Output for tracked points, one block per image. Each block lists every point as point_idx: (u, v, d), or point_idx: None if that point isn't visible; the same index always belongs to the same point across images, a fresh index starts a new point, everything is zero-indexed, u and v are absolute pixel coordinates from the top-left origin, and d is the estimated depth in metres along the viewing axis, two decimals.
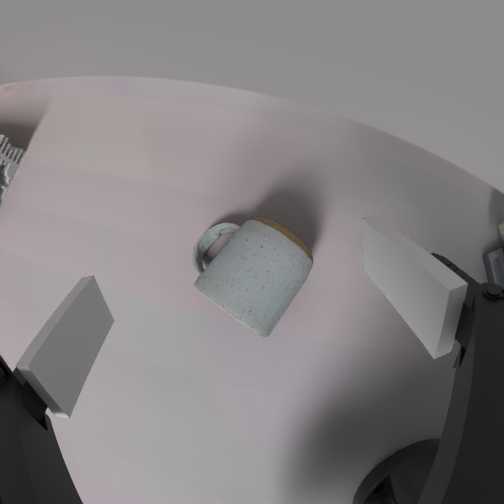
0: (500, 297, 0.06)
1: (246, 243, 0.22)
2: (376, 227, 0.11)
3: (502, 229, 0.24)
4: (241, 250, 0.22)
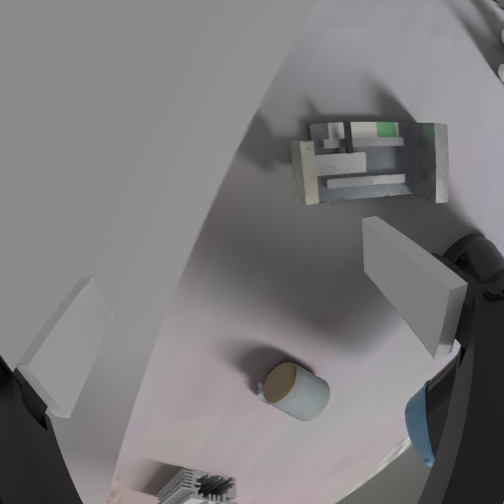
0: (500, 297, 0.06)
1: (284, 409, 0.38)
2: (376, 227, 0.11)
3: None
4: (287, 411, 0.38)
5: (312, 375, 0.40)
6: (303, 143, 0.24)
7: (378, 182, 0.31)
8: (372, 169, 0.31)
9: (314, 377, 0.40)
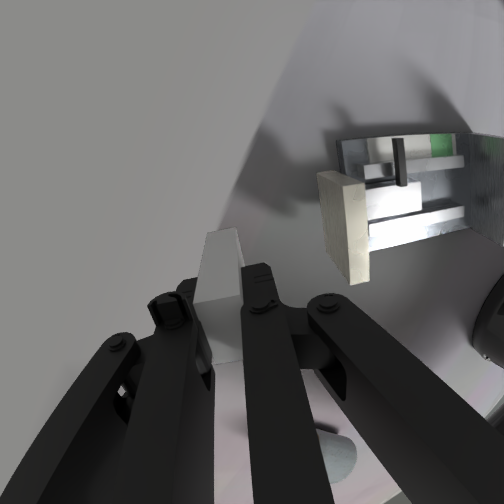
0: (270, 307, 0.08)
1: None
2: (222, 238, 0.14)
3: None
4: None
5: (337, 439, 0.31)
6: (348, 188, 0.14)
7: (433, 221, 0.21)
8: (424, 201, 0.21)
9: (339, 441, 0.31)
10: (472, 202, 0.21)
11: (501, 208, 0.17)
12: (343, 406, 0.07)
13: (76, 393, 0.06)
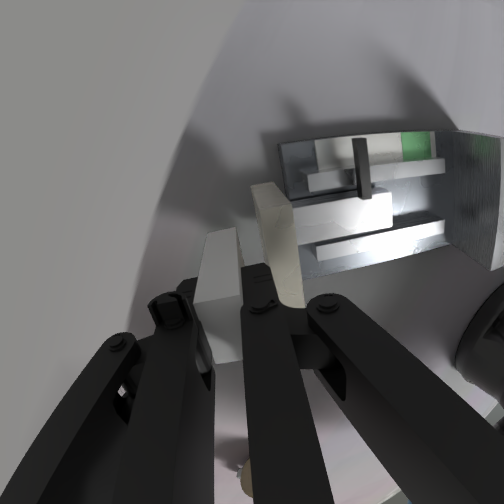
0: (270, 307, 0.08)
1: None
2: (222, 238, 0.14)
3: None
4: None
5: None
6: (268, 212, 0.11)
7: (403, 239, 0.18)
8: (393, 215, 0.18)
9: None
10: (456, 214, 0.18)
11: (490, 224, 0.14)
12: (343, 406, 0.07)
13: (76, 393, 0.06)
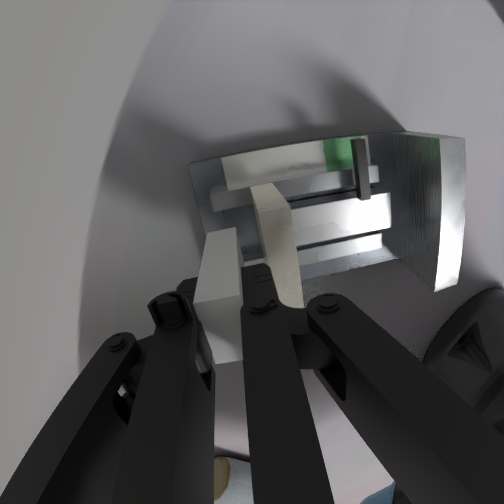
0: (270, 307, 0.08)
1: None
2: (222, 238, 0.14)
3: None
4: None
5: None
6: (266, 214, 0.11)
7: (329, 256, 0.18)
8: None
9: None
10: (400, 226, 0.18)
11: (433, 239, 0.15)
12: (343, 406, 0.07)
13: (76, 393, 0.06)
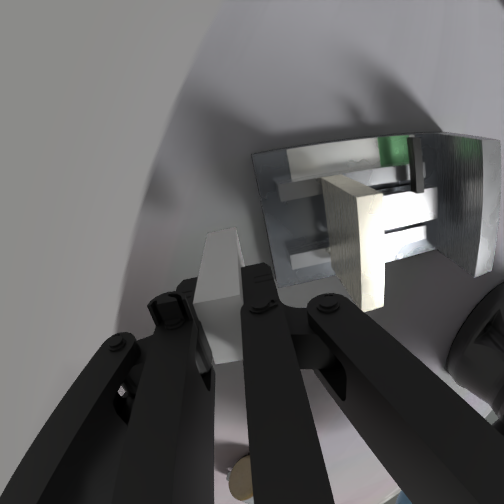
0: (270, 307, 0.08)
1: None
2: (222, 238, 0.14)
3: None
4: None
5: None
6: (363, 200, 0.11)
7: None
8: None
9: None
10: (439, 219, 0.19)
11: (474, 230, 0.15)
12: (343, 406, 0.07)
13: (76, 393, 0.06)
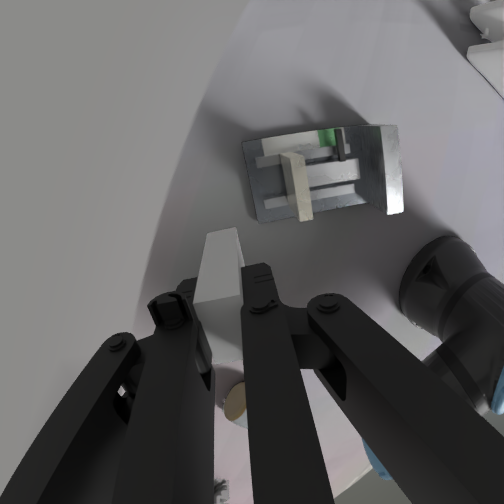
0: (270, 307, 0.08)
1: (243, 426, 0.39)
2: (222, 238, 0.14)
3: None
4: (246, 427, 0.39)
5: None
6: (293, 159, 0.23)
7: (323, 196, 0.30)
8: None
9: None
10: (366, 181, 0.31)
11: (383, 183, 0.27)
12: (343, 406, 0.07)
13: (76, 393, 0.06)
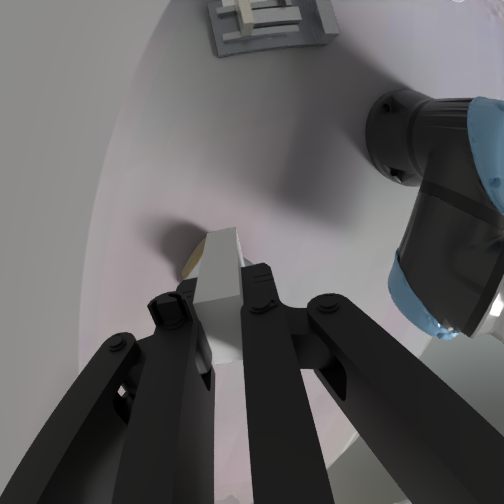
0: (270, 307, 0.08)
1: None
2: (222, 238, 0.14)
3: (247, 34, 0.29)
4: None
5: None
6: None
7: (271, 32, 0.30)
8: (266, 26, 0.30)
9: None
10: (310, 27, 0.30)
11: (317, 14, 0.26)
12: (343, 406, 0.07)
13: (76, 393, 0.06)
